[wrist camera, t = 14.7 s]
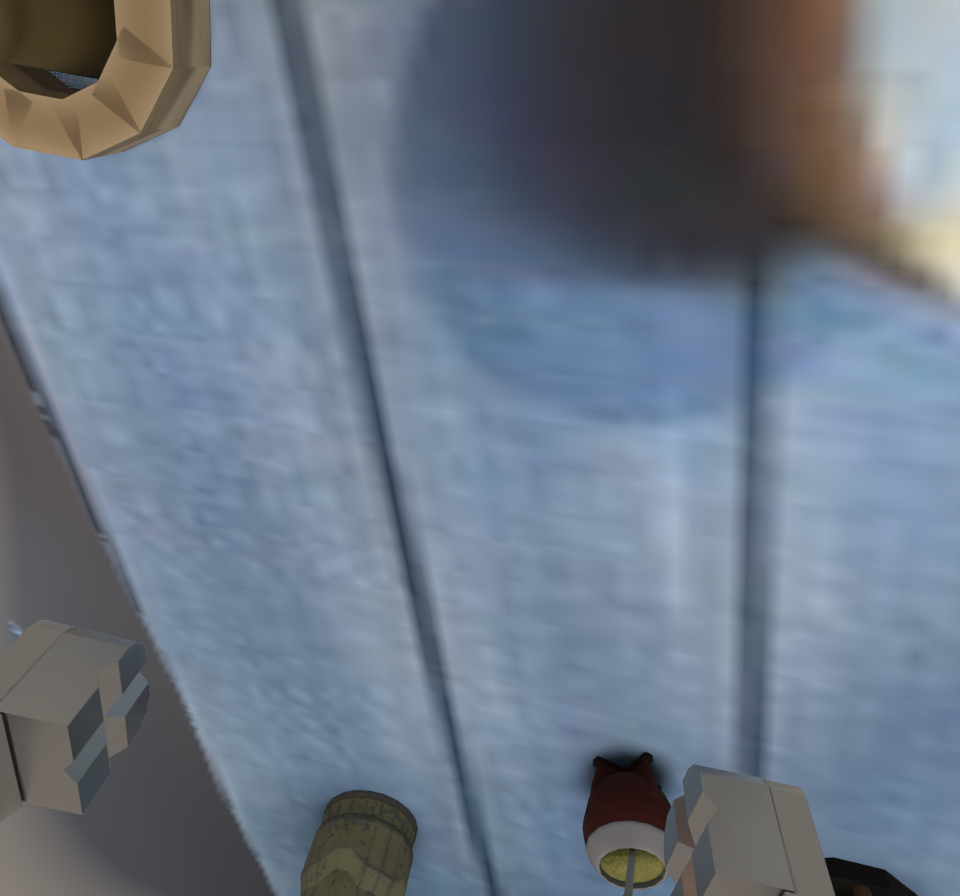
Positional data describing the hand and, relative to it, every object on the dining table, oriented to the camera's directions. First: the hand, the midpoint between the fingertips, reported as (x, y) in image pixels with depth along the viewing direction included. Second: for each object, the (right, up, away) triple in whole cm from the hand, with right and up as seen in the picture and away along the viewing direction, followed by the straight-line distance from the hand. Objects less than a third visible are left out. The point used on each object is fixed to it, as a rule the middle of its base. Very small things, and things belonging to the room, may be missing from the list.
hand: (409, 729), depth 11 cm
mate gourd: (+13, -22, +49) cm, 56 cm away
